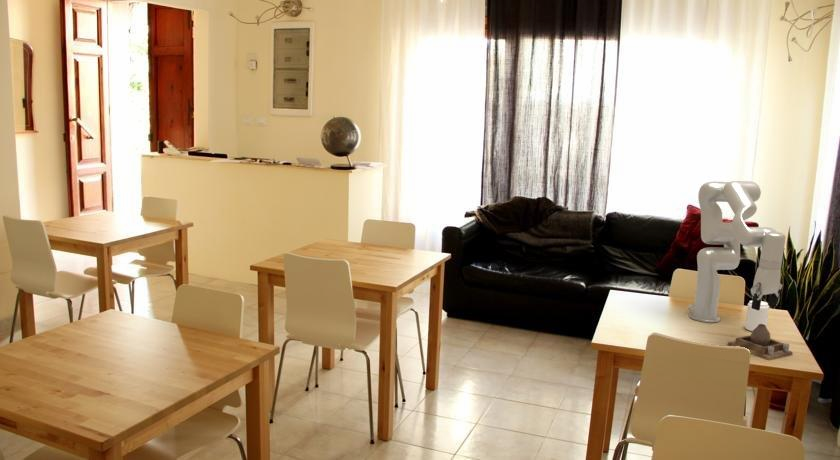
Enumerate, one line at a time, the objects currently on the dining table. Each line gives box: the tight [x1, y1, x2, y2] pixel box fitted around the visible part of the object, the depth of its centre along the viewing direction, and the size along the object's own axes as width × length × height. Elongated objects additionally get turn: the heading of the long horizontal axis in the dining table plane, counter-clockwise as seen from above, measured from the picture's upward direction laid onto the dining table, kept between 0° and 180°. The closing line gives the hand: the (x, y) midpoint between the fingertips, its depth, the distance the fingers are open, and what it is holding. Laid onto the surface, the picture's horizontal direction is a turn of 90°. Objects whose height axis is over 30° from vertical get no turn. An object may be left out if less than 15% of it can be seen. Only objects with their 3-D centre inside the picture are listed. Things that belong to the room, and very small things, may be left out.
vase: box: [750, 324, 771, 347], centre depth 279 cm, size 7×7×9 cm
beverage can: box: [744, 299, 770, 332], centre depth 304 cm, size 8×8×12 cm
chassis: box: [726, 334, 794, 361], centre depth 280 cm, size 18×14×4 cm
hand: (763, 307), depth 278 cm, fingers open, 9 cm apart
